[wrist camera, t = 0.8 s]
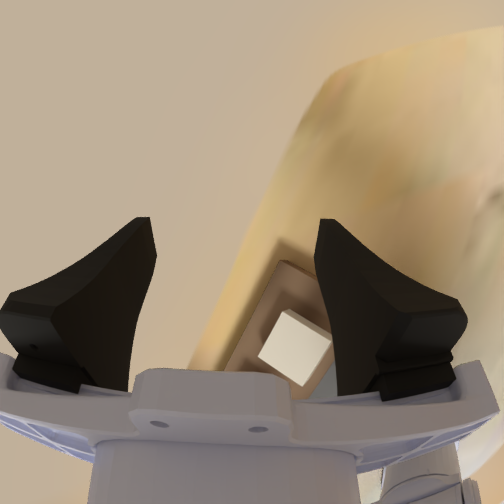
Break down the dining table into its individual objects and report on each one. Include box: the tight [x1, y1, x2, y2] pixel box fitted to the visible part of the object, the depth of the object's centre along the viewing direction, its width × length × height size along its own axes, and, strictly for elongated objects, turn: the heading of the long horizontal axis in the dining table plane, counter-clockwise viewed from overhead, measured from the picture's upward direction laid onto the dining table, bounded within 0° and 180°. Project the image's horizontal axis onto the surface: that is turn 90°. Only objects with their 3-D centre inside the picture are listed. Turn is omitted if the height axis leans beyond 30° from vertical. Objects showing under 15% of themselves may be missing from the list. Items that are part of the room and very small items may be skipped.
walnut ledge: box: [224, 260, 335, 400], centre depth 29 cm, size 9×20×2 cm, turn 152°
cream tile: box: [258, 309, 333, 386], centre depth 26 cm, size 5×5×2 cm
